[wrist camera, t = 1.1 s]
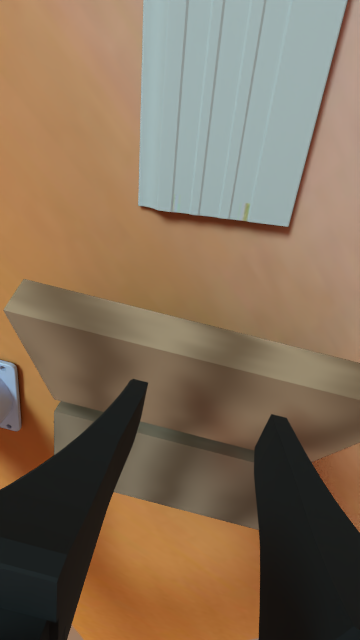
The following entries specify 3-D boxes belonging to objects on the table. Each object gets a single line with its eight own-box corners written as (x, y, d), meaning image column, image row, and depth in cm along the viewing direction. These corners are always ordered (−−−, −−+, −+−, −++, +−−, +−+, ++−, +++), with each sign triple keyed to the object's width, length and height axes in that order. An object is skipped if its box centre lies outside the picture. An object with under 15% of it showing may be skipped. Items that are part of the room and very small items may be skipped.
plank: (64, 375, 26) (54, 399, 25) (23, 279, 16) (3, 310, 15) (306, 437, 26) (306, 464, 25) (415, 376, 16) (423, 416, 15)
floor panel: (63, 458, 32) (54, 476, 30) (65, 379, 27) (54, 396, 25) (261, 509, 32) (262, 530, 30) (303, 440, 26) (308, 462, 25)
